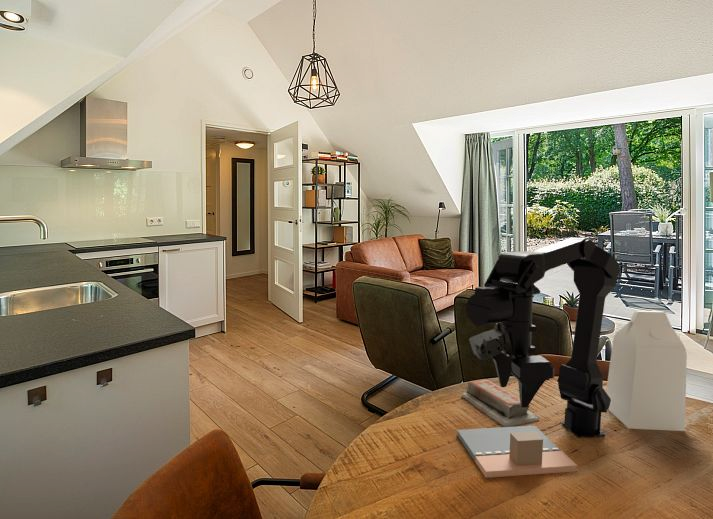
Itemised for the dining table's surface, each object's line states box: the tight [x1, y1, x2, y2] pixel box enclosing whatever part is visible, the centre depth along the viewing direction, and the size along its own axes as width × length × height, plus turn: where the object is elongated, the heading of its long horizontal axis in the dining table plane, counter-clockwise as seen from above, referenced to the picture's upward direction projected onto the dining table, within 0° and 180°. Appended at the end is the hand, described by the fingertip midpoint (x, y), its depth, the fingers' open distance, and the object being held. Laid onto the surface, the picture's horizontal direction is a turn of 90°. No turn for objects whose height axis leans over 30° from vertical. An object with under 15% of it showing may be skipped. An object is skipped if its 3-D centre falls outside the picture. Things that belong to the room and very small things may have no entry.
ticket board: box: [456, 424, 562, 462], centre depth 89 cm, size 18×10×1 cm, turn 96°
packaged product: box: [461, 378, 540, 427], centre depth 106 cm, size 18×5×10 cm
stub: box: [474, 431, 578, 479], centre depth 81 cm, size 18×5×6 cm, turn 96°
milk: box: [605, 310, 688, 432], centre depth 100 cm, size 12×12×26 cm
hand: (513, 396), depth 83 cm, fingers open, 9 cm apart
